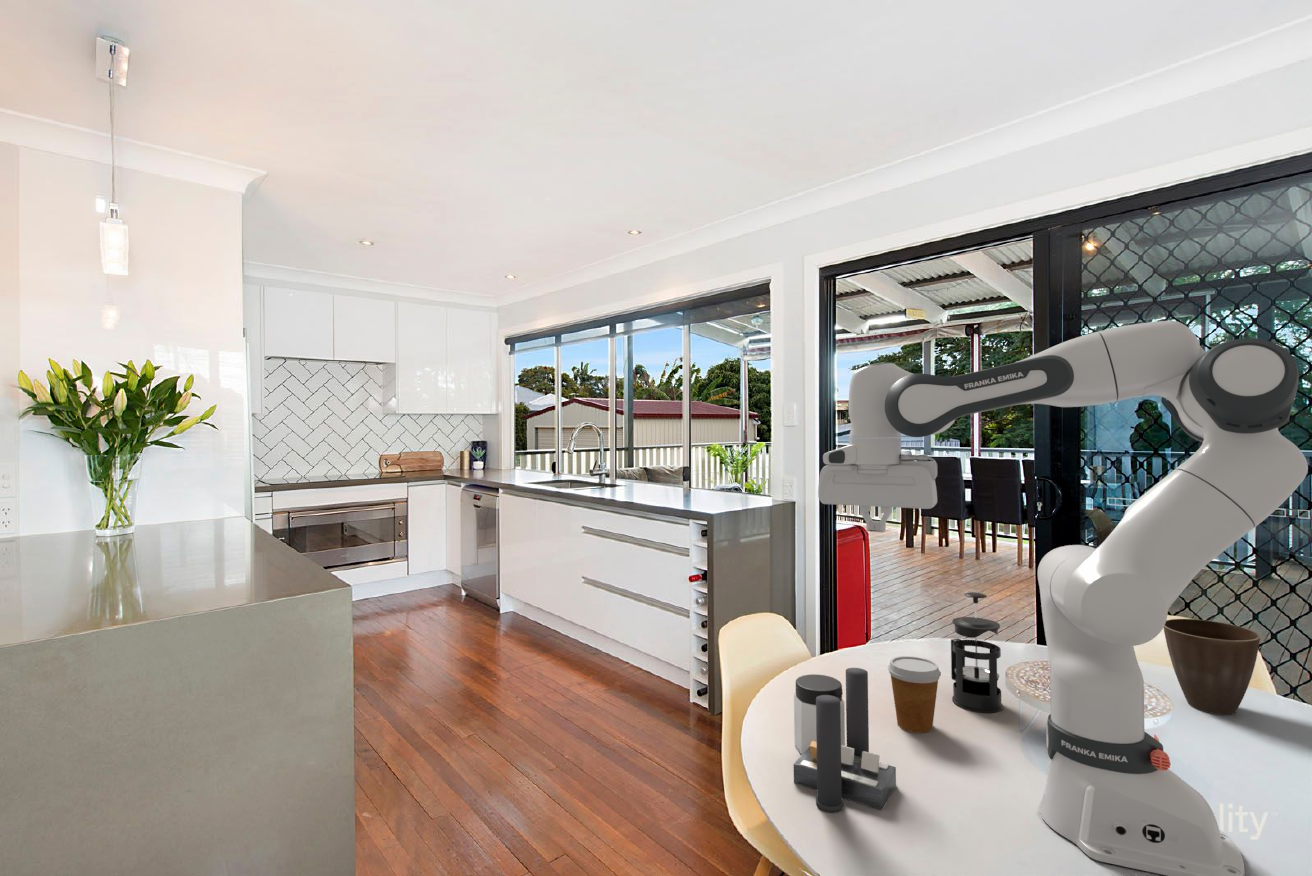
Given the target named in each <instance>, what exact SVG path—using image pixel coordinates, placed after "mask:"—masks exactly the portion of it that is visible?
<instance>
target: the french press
mask: <svg viewBox="0 0 1312 876" xmlns="http://www.w3.org/2000/svg"><path fill="white" fill-rule="evenodd" d="M964 596H965V597H968V598H972V603H973V604H974V616H972V617H971V616H959V617H955V618H953V619H952V620H951V621H952V624H953V625H954V632H955V633H956V634H957V635H959V636H962V637H965V638H970V639H960V638H951V640H950V662H951V663H950V664H951V666H950V667H951V668H950V670H951V671H950V672H951V680H953V681H955V682H953V684H952V685H953V686H952V688H953V689H952V691H953V692H952V693H953V695H952V699H951V700H952V702H953V704H954V705H956V706H957V707H959V708H961V709H963V710H967V711H969V712H975V713H980V714H982V713H983V714H995V713H998V712H1000V711H1002V710H1003V708H1004V707H1003V705H1004V704H1003V702H1002V690H1001V688H1000V687H998V680H999V679H1000V675H999V673H998V659H999V658H1001V656H1002V652H1001V651H1002V650H1001V647H1000V646H999V645H997V644H995V643H991V642H988V641H985V640H979V639H978V637H979V636H981V635H984V634H985V633H987V632H989V631H990V632H992V633H994V634H996V635H997V636H998V635H999V630H1000V629H1001V624H1000V623H998V622H997V621H994V620H990V619H987V618H983V617H978V612H977V611H978V610H977V607H978V606H977V604H979V599H984V598H987V597H988V596H987V595H986V594H984V593H983V592H982V593H981V592H974V591H971V592H970V591H969V592H965V593H964ZM966 647H975V649H974V650H975V651H968V650H966V649H965V648H966ZM978 647H979V648H984V649H988V650H989V652H978ZM966 658H968V659H972V660H975V665H966ZM978 660H981V661H982V660H983V661H988V668H986V667H982V666H979V665H978V664H979V662H978Z"/></svg>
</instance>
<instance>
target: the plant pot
mask: <svg viewBox="0 0 1312 876" xmlns="http://www.w3.org/2000/svg"><path fill="white" fill-rule="evenodd" d="M1163 632H1164V636H1165V643H1166V646H1167V651H1168V655H1169V657H1170V661H1171V665H1172V668H1173V671H1174V674H1175V675H1176V678H1177V682H1178V684H1179V687H1180V688H1181V689H1180V690H1181V691H1182V693H1183V695H1184V697H1185V700H1186V703H1187V704H1188V705H1189V706H1191V707H1192V708H1193V709H1196V710H1199V711H1202V712H1205V713H1210V714H1214V715H1221V716H1223V715H1225V716H1227V715H1231V716H1232V715H1234V714H1236V712H1237V711H1238V709H1239V707H1240V705H1241V703H1242V701H1243V699H1244V697H1245V694H1246V692H1247V690H1248V689H1249V688H1248V687H1249V685H1250V682H1251V680H1252V676H1253V674H1254V673H1253V672H1254V669H1255V666H1256V661H1257V658H1258V651H1259V649H1260V647H1259V646H1260V642H1261V641H1260V640H1261V635H1260V634H1259V633H1258V632H1256V631H1254V630H1251V629H1249V628H1246V627H1242V626H1238V625H1235V624H1230V623H1227V622H1220V621H1215V620H1214V621H1212V620H1207V619H1205V620H1204V619H1195V618H1172V619H1167V620H1166V623H1165V625H1164V627H1163Z"/></svg>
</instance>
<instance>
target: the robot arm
mask: <svg viewBox="0 0 1312 876" xmlns="http://www.w3.org/2000/svg"><path fill="white" fill-rule="evenodd" d="M1299 378H1300V376H1299V369H1298V363H1296V360H1295V359H1294V357H1293V356H1292V354H1290V352H1289V351H1288V350H1287V349H1286V348H1284V347H1282V346H1281V345H1279V344H1277V343H1274V342H1272V341H1270V340H1265V339H1261V338H1249V337H1248V338H1238V339H1232V340H1228V341H1225V342H1222V343H1220V344H1217V345H1215V346H1214V347H1212V348H1211V349H1210V348H1209V350H1207V351H1205V349H1204V348H1203V347H1201V345H1200V341H1199V340H1198V338H1197V336H1196V334H1195V333H1194V332H1193V330H1192V329H1191V328H1189V327H1188V326H1187V325H1185V324H1183V323H1182V322H1179V321H1177V320H1175V321H1174V320H1162V321H1161V320H1160V321H1150V322H1140V323H1134V324H1128V325H1123V326H1118V327H1117V326H1116V327H1110V328H1107V329H1103V330H1099V331H1095V332H1091V333H1087V334H1084V335H1081V336H1077V337H1075V338H1071V339H1068V340H1066V341H1062V342H1060V343H1059V344H1056V345H1054V346H1051V347H1049V348H1047V349H1045V350H1043V351H1040V352H1037V353H1035V354H1033V355H1030V356H1028V357H1026V358H1023V359H1021V360H1019V361H1015V362H1012V363H1009V364H1008V363H1007V364H1004V365H998V366H995V367H990V368H987V369H982V370H976V371H973V372H968V373H964V374H958V375H953V376H942V375H937V374H936V375H935V374H929V373H912V372H909V371H907V370H905V369H904V368H902V367H900V366H898V365H896V364H895V363H894V362H889V361H888V362H885V361H884V362H877V363H873V364H868V365H865V366H863V367H860V368H858V369H856V371H855V372H854V373H853V374H852V375H851V378H850V383H849V391H848V392H849V393H848V417H849V419H850V431H849V434H848V435H849V436H848V438H849V439H848V445H846V446H842V447H839V448H836V449H833V450H830V451H827V452H825V453H824V454H823V455H822V461H823V462H822V463H824V465H825V466H823V467H822V468H821V470H820V473H819V478H818V486H817V487H818V489H817V490H818V493H817V494H818V500H819V501H820V502H821V503H822V504H823V505H837V506H857V507H859V513H860V514H861V516H862V518H863V519H864V521H865V522H866V523H865V524H866V526H865V527H866V532H870V533H871V532H872V533H885V532H886V530H887V529H886V527H887V525H886V522H887V521H888V520H889V518H890V516H891V514H892V513H893V508H899V509H900V508H903V509H904V508H905V509H919V510H922V509H923V510H929V509H930V510H931V509H932V508H934V507H935V506H936V505H937V503H938V491H937V485H936V478H937V477H938V475H939V474H938V463H937V461H936V460H935V459H934V458H932V457H930V456H929V455H928V454H903V453H902V435H904V436H906V437H911V438H923V437H927V436H935V435H939V434H940V433H943V432H945V431H946V430H948V429H949V428H950V427H951V426H953V425H954V423H955V422H956V420H957V419H959V418H962V417H965V416H969V415H974V414H978V413H983V412H987V411H988V412H989V411H992V410H997V409H998V410H999V409H1002V408H1006V407H1007V408H1009V407H1011V406H1012V407H1013V406H1017V405H1030V404H1031V405H1032V404H1033V405H1034V404H1037V405H1048V406H1053V407H1060V408H1074V407H1075V408H1079V407H1091V406H1099V405H1105V404H1110V403H1115V402H1119V401H1125V400H1129V399H1134V398H1139V397H1147V396H1156V397H1157V396H1158V397H1161V400H1160V402H1161V404H1162V405H1163V407H1164V408H1165V409H1166V410H1167V411H1168V413H1169V414H1170V415H1171V416H1172V418H1174V420H1175V422H1176V423H1177V425H1178V426H1179V427H1180V428H1181V429H1182V430H1183V431H1184V433H1186V434H1187V435H1188V436H1189V437H1190V438H1192V439H1194V440H1196V441H1198V442H1200V443H1202V444H1201V445H1200V447H1199V448H1198V449H1197V450H1196V451H1195V452H1194V453H1193V454H1192V455H1191V456H1190V457H1188V458H1187V459H1186V460H1185V461H1184V462H1182V463H1181V464H1179V466H1177V467H1175V468H1174V470H1172V471H1171V472H1169V473H1168V474H1167V475H1165V477H1163V478H1162V479H1161V480H1160V481H1159V482H1157V483H1156V484H1155V485H1153V486H1152V487H1151V488H1149V490H1147V491H1146V492H1145V493H1143V494H1142V495H1141V496H1140V497H1139V498H1137V499H1136V500H1134V502H1132V503H1131V504H1130V505H1129V506H1128V507H1127V508H1126V510H1125V511H1124V513H1123V517H1122V518H1121V520H1120V521H1119V523H1118V524H1117V525H1116V526H1115V528H1113V530H1112V532H1110V533H1109V535H1108V536H1107V537H1106V538H1105V539H1104V540H1103V542H1102V543H1101V544H1099V545H1098V546H1097V547H1093V546H1089V545H1083V544H1072V545H1071V544H1069V545H1068V544H1067V545H1064V546H1059V547H1056V548H1053V549H1052V550H1050V551H1049V552H1047V553H1046V554H1044V556H1043V557H1042V558H1041V560H1040V562H1039V564H1038V567H1037V581H1038V586H1039V594H1040V597H1039V598H1040V603H1041V605H1040V607H1041V613H1042V622H1043V628H1044V629H1043V630H1044V636H1045V641H1046V643H1045V644H1046V646H1047V654H1048V662H1049V664H1048V665H1049V687H1050V688H1049V690H1050V691H1049V693H1050V695H1049V697H1050V699H1049V700H1050V713H1049V714H1048V716H1047V723H1046V727H1045V728H1046V729H1045V730H1046V751H1047V755H1048V757H1049V760H1048V761H1049V763H1048V769H1047V778H1046V783H1045V788H1044V792H1043V795H1042V798H1041V802H1040V804H1039V807H1038V811H1039V815H1040V817H1041V818H1042V820H1043V821H1044V822H1045V823H1046V824H1047V825H1048V826H1049V827H1050V828H1051V829H1052V830H1053V831H1055V832H1056V833H1058V834H1059V835H1061V836H1062V837H1064V838H1066V839H1067V840H1069V841H1071V842H1072V843H1074V844H1075V845H1076V846H1077V847H1078V848H1079V849H1080V850H1081V851H1082V852H1083V853H1084V854H1086V856H1088V857H1089V858H1091V859H1092V860H1095V861H1097V862H1102V863H1107V864H1112V865H1116V866H1120V867H1124V868H1125V867H1126V868H1130V869H1135V870H1139V871H1144V872H1149V873H1155V874H1159V875H1164V876H1246V869H1245V863H1244V859H1243V856H1242V854H1241V851H1240V850H1239V848H1238V846H1237V844H1236V843H1235V842H1234V840H1233V839H1231V837H1230V836H1228V835H1227V834H1226V833H1225V832H1224V831H1222V830H1221V829H1219V828H1220V827H1219V824H1218V821H1217V818H1216V816H1215V813H1214V812H1213V810H1212V808H1211V806H1210V804H1209V803H1208V801H1207V800H1206V798H1205V797H1204V795H1202V794H1201V793H1200V792H1199V791H1198V790H1197V789H1195V788H1194V787H1193V786H1191V785H1190V784H1188V782H1187V781H1184V779H1182V778H1181V777H1180V776H1178V775H1177V774H1176V773H1175V772H1173V771H1172V770H1171V769H1170V768H1171V761H1170V757H1169V754H1167V752H1165V750H1164V746H1163V744H1162V743H1161V742H1160V740H1159V737H1157V735H1156V734H1153V736H1152V735H1150V734H1149V733H1148V732H1146V731H1145V695H1144V694H1145V687H1144V686H1145V685H1144V682H1145V681H1144V677H1143V673H1142V670H1141V668H1140V665H1139V662H1138V660H1137V656H1136V652H1135V648H1134V647H1135V646H1136V647H1137V646H1141V645H1144V644H1146V643H1148V642H1150V641H1152V640H1153V639H1156V637H1157V636H1158V635H1159V634H1160V633H1161V632H1162V630H1164V628H1163V627H1164V625H1165V623H1166V620H1168V612H1169V609H1170V608H1171V607H1172V605H1173V604H1174V603H1175V601H1176V600H1177V599H1178V598H1179V597H1180V595H1181V594H1182V593H1183V591H1184V590H1185V589H1186V588H1187V586H1188V585H1189V584H1190V583H1191V581H1193V579H1194V578H1195V577H1196V576H1197V575H1198V574H1199V573H1200V572H1201V570H1203V569H1204V568H1205V567H1206V566H1207V565H1208V564H1209V563H1211V562H1212V561H1214V559H1215V558H1217V557H1218V556H1219V555H1221V554H1222V553H1224V552H1225V551H1226V550H1227V549H1228V548H1231V546H1232V545H1234V544H1236V542H1238V541H1239V540H1240V539H1241V538H1243V537H1244V536H1245V535H1247V534H1248V533H1250V532H1251V531H1252V530H1253V529H1255V528H1256V527H1257V526H1259V525H1260V524H1261V523H1262V522H1263V521H1265V520H1266V519H1268V517H1269V516H1270V515H1272V514H1273V513H1274V512H1275V511H1277V510H1278V509H1279V508H1280V506H1281V505H1282V504H1283V503H1284V502H1286V500H1288V498H1289V497H1290V496H1291V495H1292V494H1293V493H1294V492H1295V491H1296V490H1297V488H1298V487H1299V486H1300V485H1301V484H1302V482H1304V480H1305V478H1306V477H1307V475H1308V469H1309V466H1308V465H1309V464H1308V461H1307V458H1306V456H1305V455H1304V453H1303V451H1301V449H1300V448H1299V447H1298V446H1297V445H1296V444H1295V443H1293V442H1292V441H1291V440H1289V439H1288V438H1286V437H1285V436H1283V435H1282V434H1281V432H1280V431H1279V428H1280V427H1282V426H1283V425H1285V424H1287V422H1288V421H1289V419H1290V416H1291V413H1292V408H1293V405H1294V401H1295V398H1296V395H1297V392H1298V387H1299V380H1300V379H1299ZM929 460H930V461H929ZM872 507H877V508H879V507H880V513H881V514H883V515H882V516H881V518H880V520H879V521H878V520H873V519H872V516H871V515H870V512H871V510H872Z"/></svg>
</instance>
